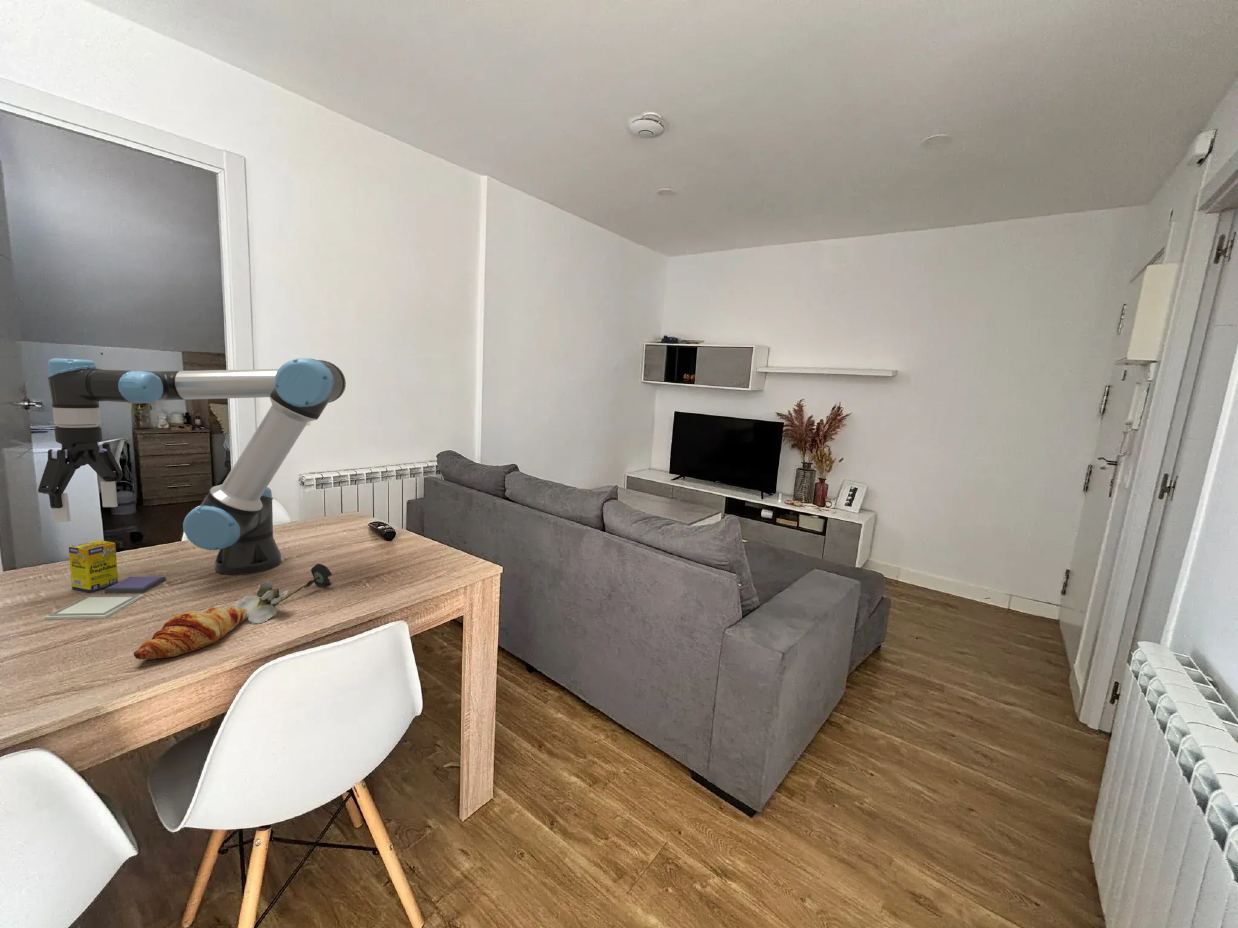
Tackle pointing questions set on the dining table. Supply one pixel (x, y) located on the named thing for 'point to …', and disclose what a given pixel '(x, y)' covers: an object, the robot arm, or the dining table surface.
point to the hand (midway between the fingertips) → (87, 513)
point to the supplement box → (93, 565)
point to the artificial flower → (277, 596)
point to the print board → (94, 607)
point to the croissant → (190, 632)
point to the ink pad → (135, 585)
